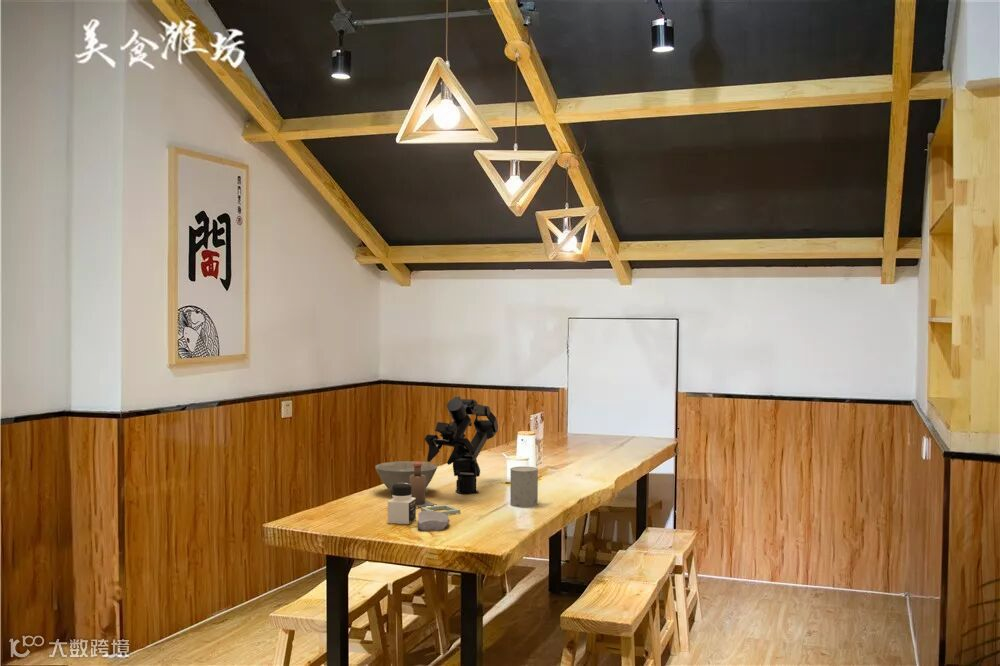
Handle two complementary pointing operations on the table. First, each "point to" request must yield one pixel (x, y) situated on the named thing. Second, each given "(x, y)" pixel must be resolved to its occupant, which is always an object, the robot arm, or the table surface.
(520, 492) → the grey matte cylinder
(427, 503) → the slate pad
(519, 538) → the table surface
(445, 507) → the pocket frame
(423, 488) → the sauce bottle
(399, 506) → the medicine bottle
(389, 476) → the ceramic bowl
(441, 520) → the stone block
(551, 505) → the table surface
